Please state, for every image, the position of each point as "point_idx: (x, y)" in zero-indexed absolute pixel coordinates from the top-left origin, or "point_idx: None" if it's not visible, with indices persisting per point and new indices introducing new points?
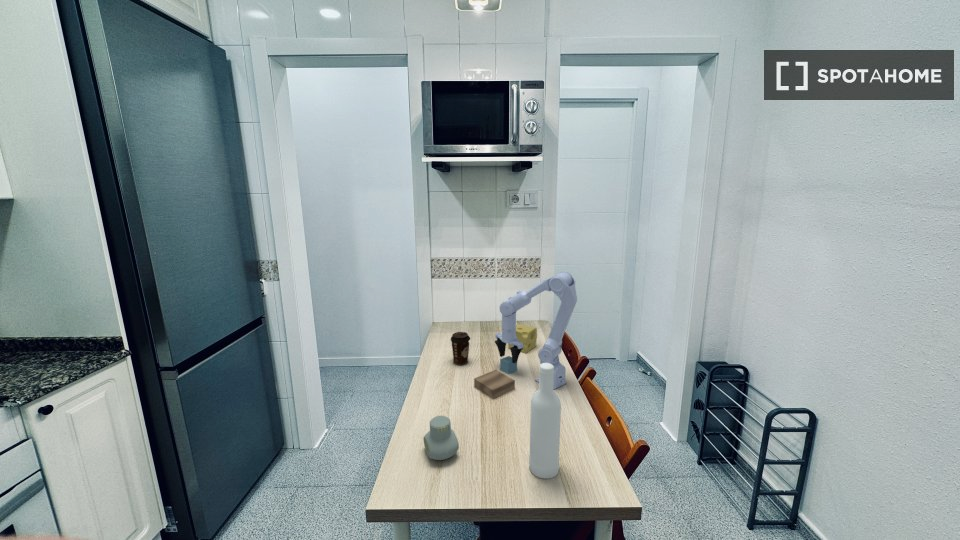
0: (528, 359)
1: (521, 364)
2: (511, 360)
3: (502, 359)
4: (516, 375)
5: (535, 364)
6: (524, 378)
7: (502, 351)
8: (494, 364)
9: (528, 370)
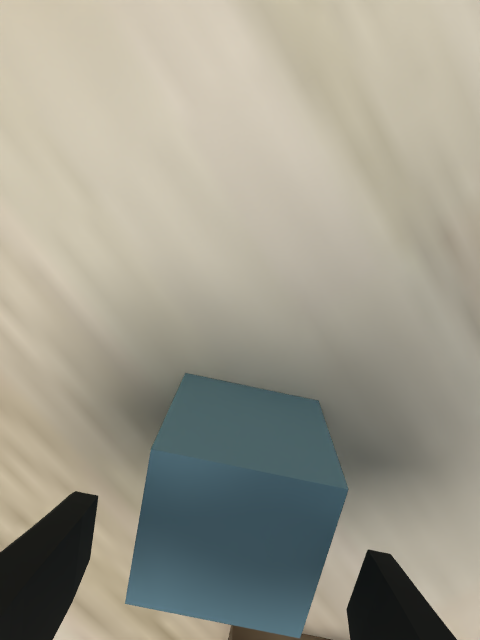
0: (272, 24)
1: (276, 235)
2: (285, 552)
3: (156, 595)
4: (369, 485)
5: (436, 108)
6: (471, 489)
7: (45, 612)
8: (34, 427)
9: (429, 318)
